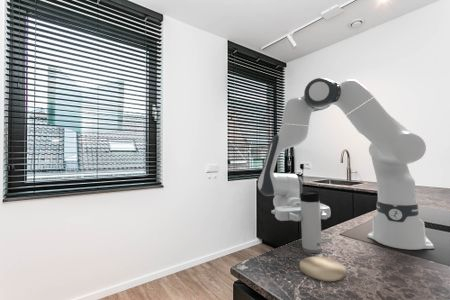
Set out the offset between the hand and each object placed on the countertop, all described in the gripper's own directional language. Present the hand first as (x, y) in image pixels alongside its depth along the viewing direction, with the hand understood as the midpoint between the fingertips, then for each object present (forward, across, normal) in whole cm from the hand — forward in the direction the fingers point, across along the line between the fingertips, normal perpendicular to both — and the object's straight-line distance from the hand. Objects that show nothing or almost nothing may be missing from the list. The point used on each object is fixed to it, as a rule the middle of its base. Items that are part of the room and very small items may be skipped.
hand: (312, 217), depth 78 cm
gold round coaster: (+13, -4, +11) cm, 17 cm away
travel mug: (-1, 0, +11) cm, 11 cm away
